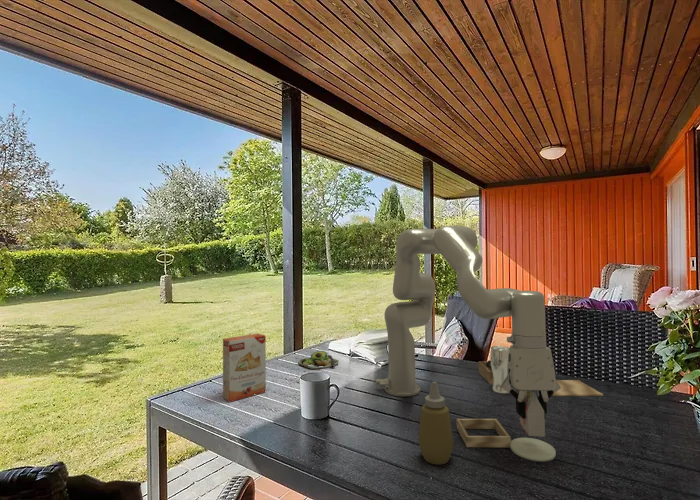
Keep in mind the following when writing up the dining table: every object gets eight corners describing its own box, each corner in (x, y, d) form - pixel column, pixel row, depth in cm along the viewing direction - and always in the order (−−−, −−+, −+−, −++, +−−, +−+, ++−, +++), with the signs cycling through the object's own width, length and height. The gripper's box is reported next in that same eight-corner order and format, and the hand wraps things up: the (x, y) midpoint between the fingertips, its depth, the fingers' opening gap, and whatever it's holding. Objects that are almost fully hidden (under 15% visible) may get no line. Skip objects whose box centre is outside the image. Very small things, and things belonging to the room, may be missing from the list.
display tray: (489, 384, 142) (489, 371, 142) (478, 372, 156) (478, 361, 156) (528, 383, 141) (528, 371, 141) (514, 372, 155) (513, 361, 155)
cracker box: (229, 403, 128) (228, 340, 129) (222, 398, 133) (221, 338, 133) (266, 392, 138) (266, 334, 138) (258, 388, 142) (258, 332, 143)
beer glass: (508, 387, 138) (507, 345, 138) (515, 394, 131) (514, 350, 131) (489, 387, 139) (487, 345, 139) (494, 393, 132) (493, 350, 132)
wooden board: (551, 396, 128) (551, 394, 128) (532, 381, 143) (532, 380, 143) (603, 395, 128) (603, 394, 128) (578, 381, 143) (578, 380, 143)
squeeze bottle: (415, 451, 94) (413, 377, 94) (447, 449, 95) (445, 376, 95) (424, 469, 86) (422, 389, 86) (459, 466, 87) (457, 387, 87)
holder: (466, 447, 95) (466, 437, 96) (456, 427, 106) (456, 418, 106) (511, 447, 95) (510, 437, 95) (496, 427, 106) (496, 418, 106)
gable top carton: (535, 424, 96) (533, 384, 96) (545, 436, 90) (543, 393, 90) (519, 423, 97) (518, 383, 97) (528, 435, 90) (527, 393, 90)
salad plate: (349, 366, 170) (349, 356, 170) (315, 374, 160) (314, 363, 160) (326, 357, 186) (326, 348, 186) (293, 364, 176) (293, 354, 176)
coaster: (519, 461, 88) (519, 457, 88) (504, 440, 98) (504, 437, 98) (563, 461, 88) (563, 458, 88) (544, 440, 98) (543, 437, 98)
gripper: (499, 345, 90) (502, 423, 90) (572, 344, 90) (574, 423, 89) (489, 338, 98) (491, 410, 97) (556, 337, 97) (558, 410, 97)
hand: (531, 415), depth 93 cm, fingers closed on gable top carton, 4 cm apart
